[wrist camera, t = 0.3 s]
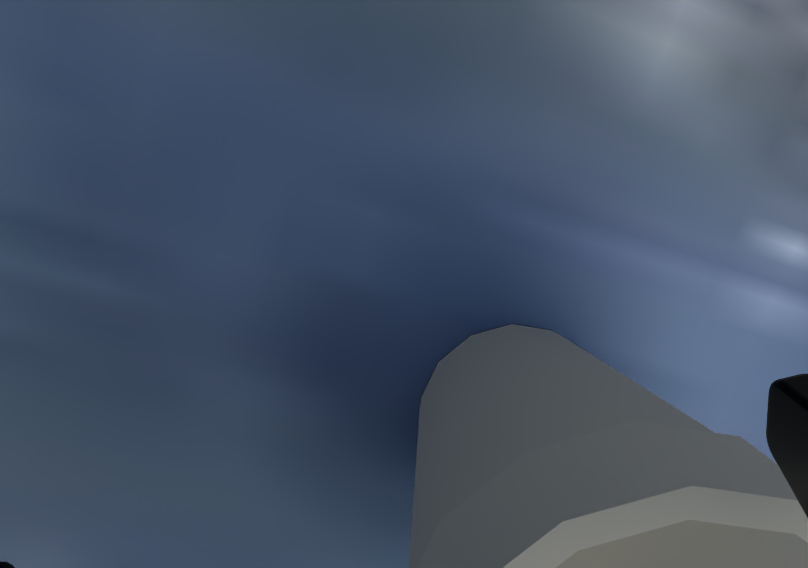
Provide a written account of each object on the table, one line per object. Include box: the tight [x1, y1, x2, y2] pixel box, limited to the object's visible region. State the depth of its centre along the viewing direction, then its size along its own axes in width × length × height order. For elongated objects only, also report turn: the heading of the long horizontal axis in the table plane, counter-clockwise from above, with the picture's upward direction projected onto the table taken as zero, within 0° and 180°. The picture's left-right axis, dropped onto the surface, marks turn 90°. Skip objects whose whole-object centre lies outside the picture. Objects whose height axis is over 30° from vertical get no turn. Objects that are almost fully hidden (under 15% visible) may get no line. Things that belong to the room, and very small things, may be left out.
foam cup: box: [409, 324, 808, 568], centre depth 19 cm, size 10×9×13 cm
